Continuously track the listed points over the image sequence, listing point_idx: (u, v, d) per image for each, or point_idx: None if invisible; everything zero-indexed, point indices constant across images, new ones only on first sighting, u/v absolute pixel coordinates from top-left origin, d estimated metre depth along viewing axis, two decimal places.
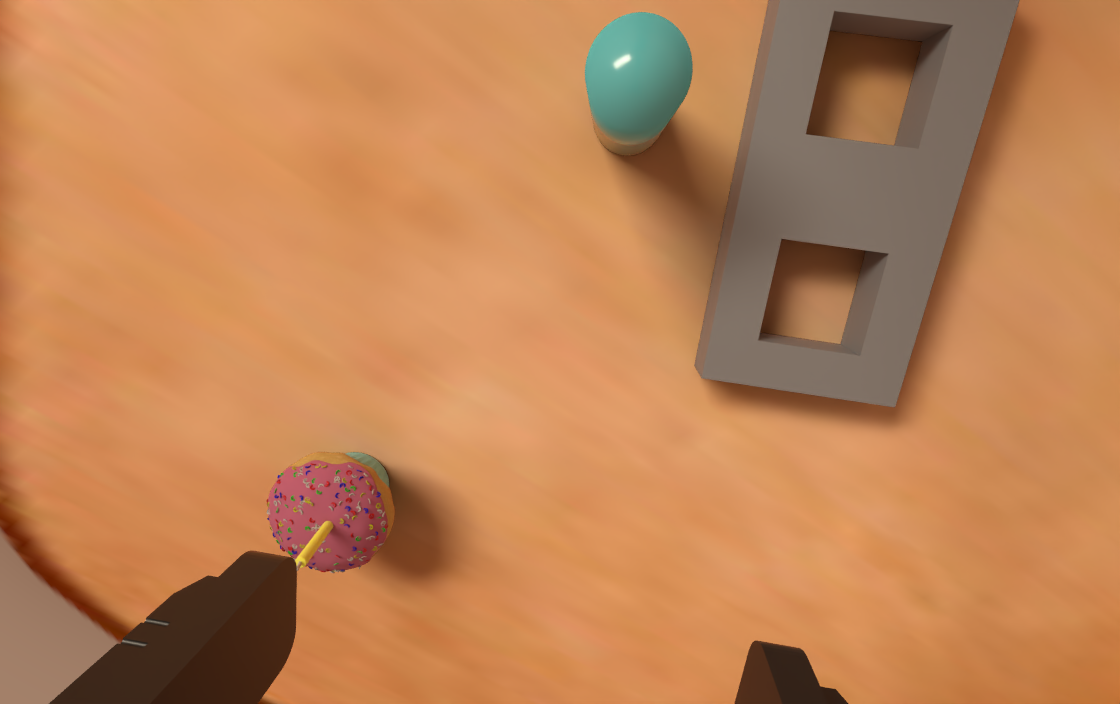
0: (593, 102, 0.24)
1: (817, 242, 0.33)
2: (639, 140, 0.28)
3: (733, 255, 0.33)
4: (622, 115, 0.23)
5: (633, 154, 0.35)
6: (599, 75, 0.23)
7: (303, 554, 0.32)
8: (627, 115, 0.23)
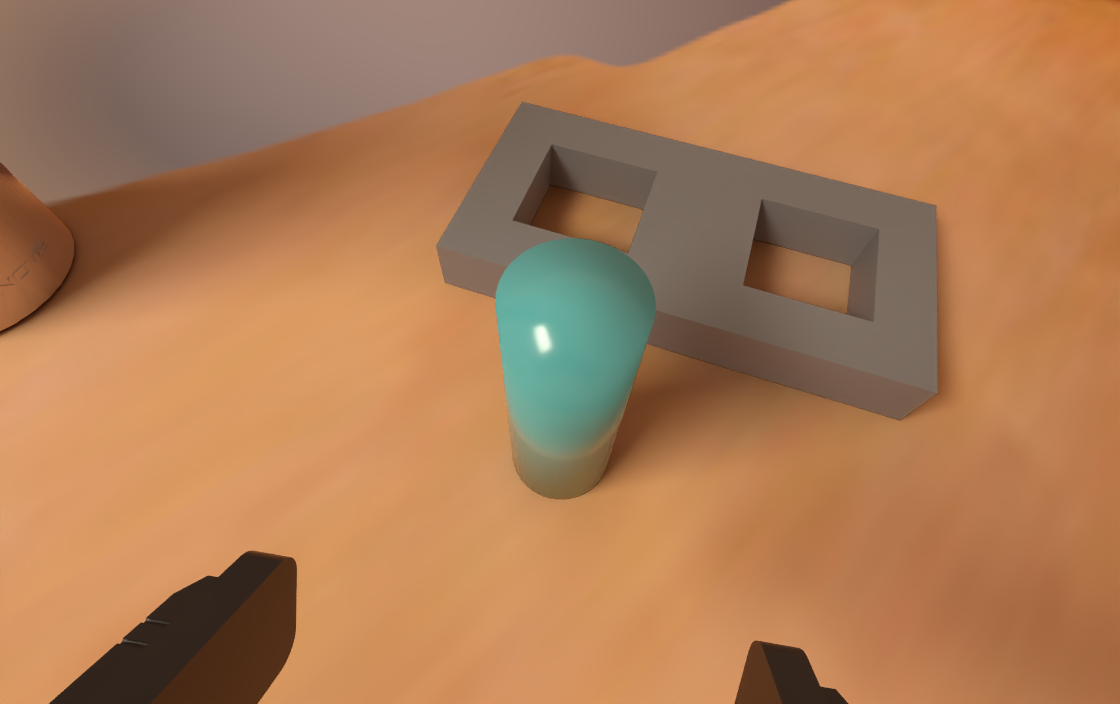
0: (606, 365, 0.14)
1: (748, 253, 0.28)
2: None
3: (762, 334, 0.26)
4: (633, 328, 0.15)
5: None
6: (568, 348, 0.15)
7: None
8: (634, 322, 0.15)
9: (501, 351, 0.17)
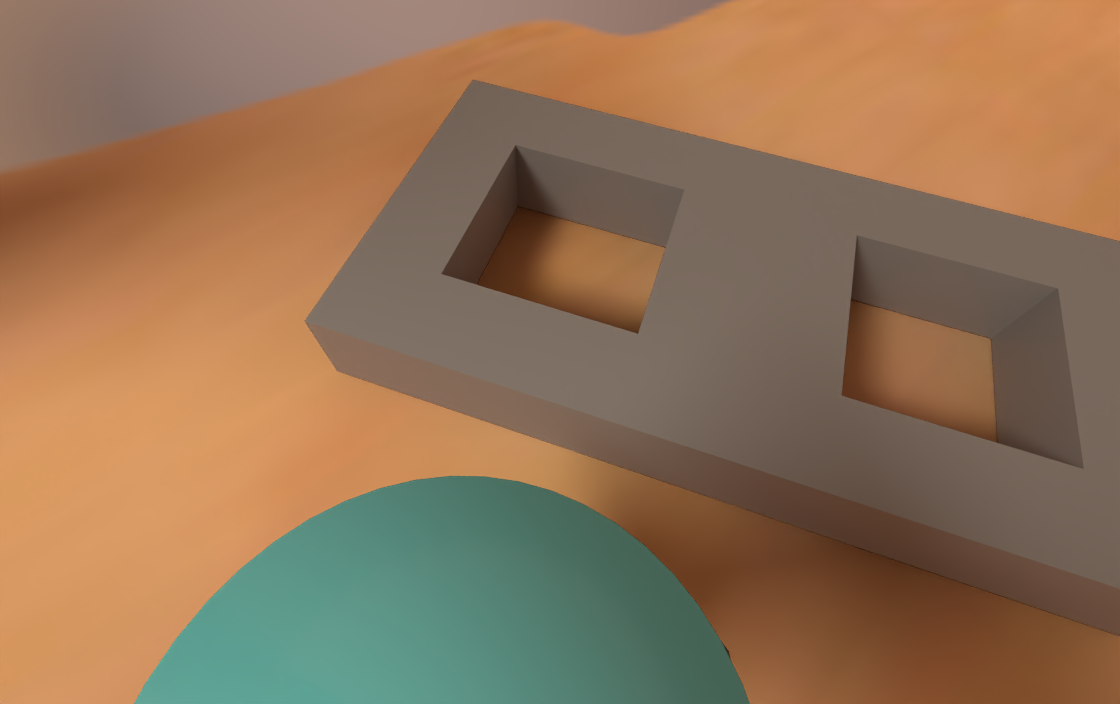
0: None
1: (845, 334, 0.16)
2: None
3: (886, 497, 0.14)
4: None
5: None
6: None
7: None
8: None
9: None
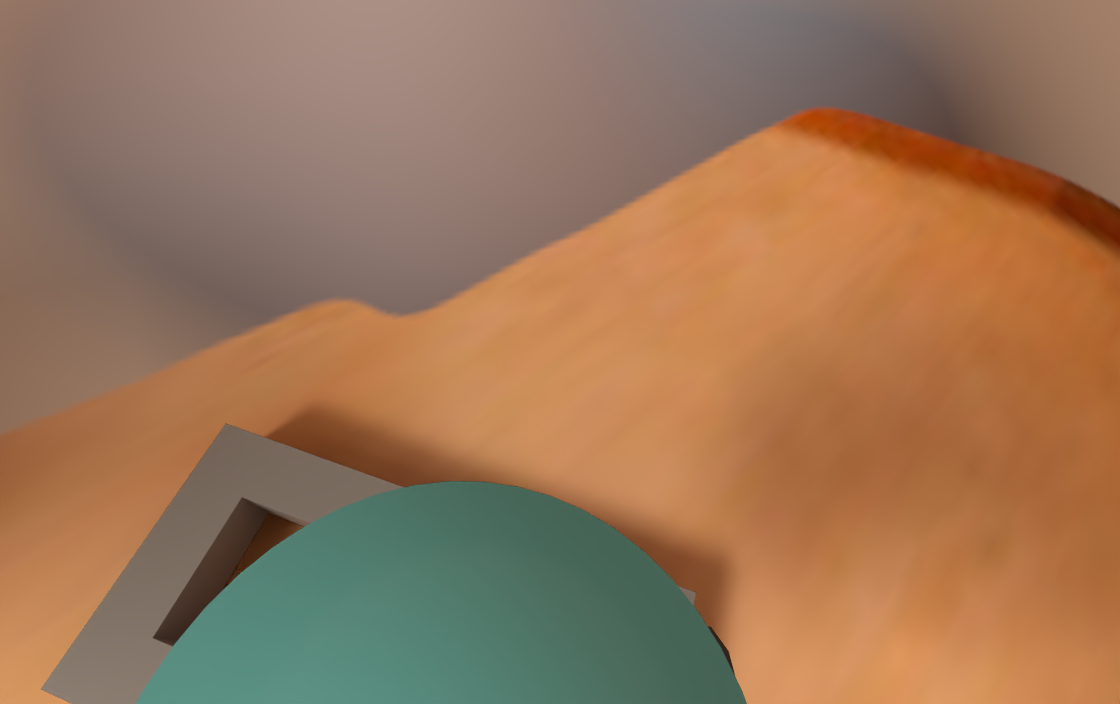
0: None
1: None
2: None
3: None
4: None
5: None
6: None
7: None
8: None
9: None
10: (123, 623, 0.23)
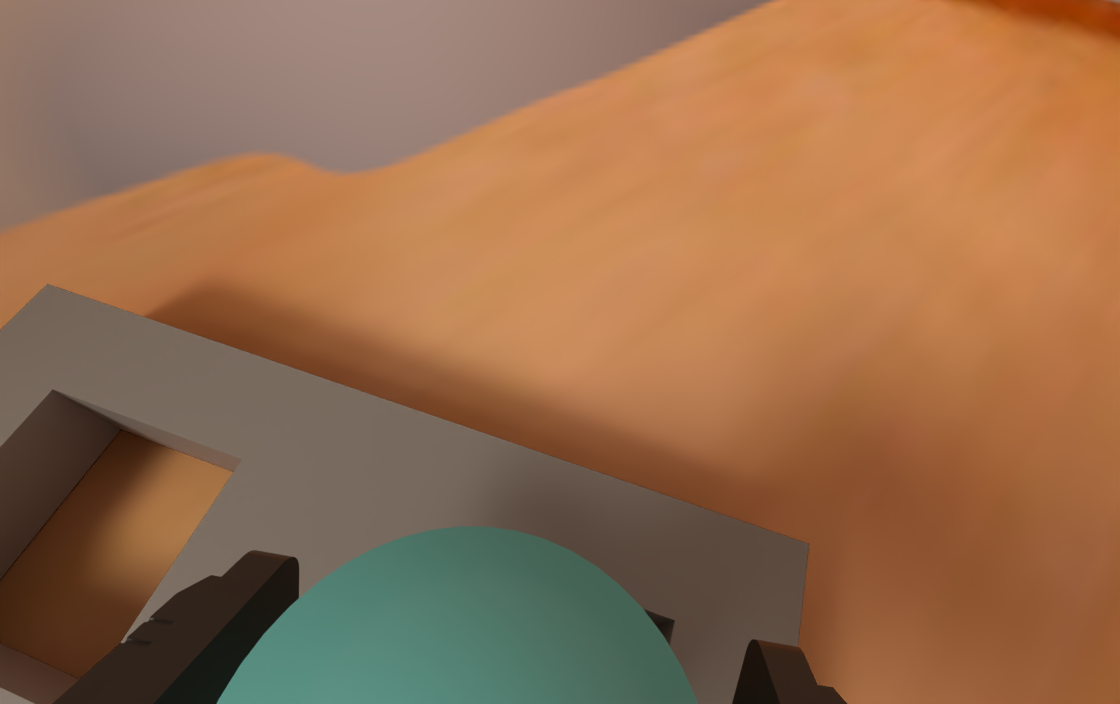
0: None
1: None
2: None
3: None
4: None
5: None
6: None
7: None
8: None
9: None
10: None
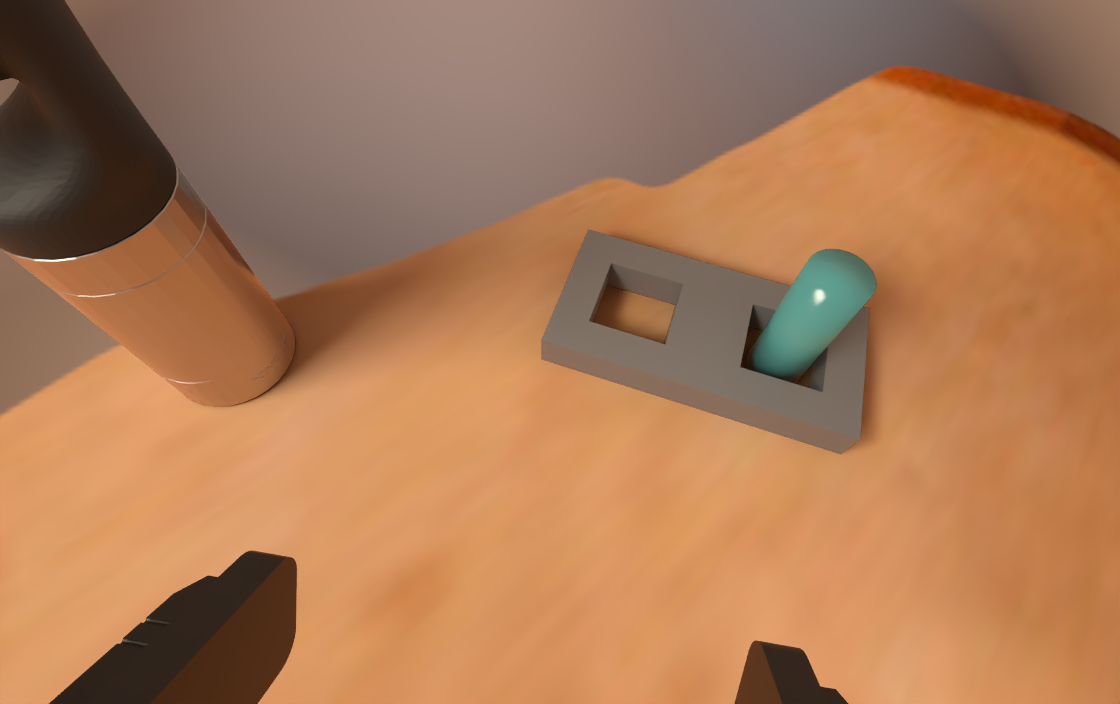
0: (860, 302, 0.35)
1: (743, 344, 0.43)
2: None
3: (751, 400, 0.41)
4: (868, 287, 0.35)
5: None
6: (844, 295, 0.35)
7: None
8: (868, 285, 0.35)
9: (798, 299, 0.37)
10: (571, 315, 0.44)
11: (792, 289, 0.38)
